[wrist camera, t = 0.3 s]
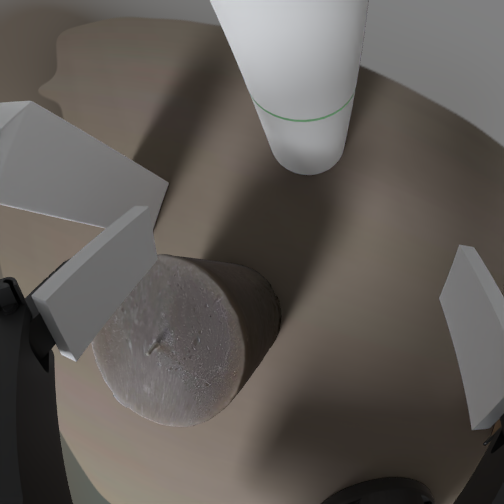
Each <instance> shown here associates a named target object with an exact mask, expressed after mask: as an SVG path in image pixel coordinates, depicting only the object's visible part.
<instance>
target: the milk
mask: <svg viewBox="0 0 504 504" xmlns="http://www.w3.org/2000/svg"><path fill="white" fill-rule="evenodd" d="M168 185H169V183H168V182H167V181H165V180H164V179H162V178H160V177H159V176H157V175H155V174H154V173H152V172H151V171H149V170H147V169H146V168H144V167H142V166H141V165H139V164H137V163H136V162H134V161H132V160H131V159H129V158H127V157H126V156H124V155H122V154H121V153H119V152H117V151H116V150H114V149H112V148H111V147H109V146H107V145H106V144H104V143H102V142H101V141H99V140H97V139H96V138H94V137H92V136H91V135H89V134H87V133H86V132H84V131H82V130H81V129H79V128H77V127H76V126H74V125H72V124H70V123H69V122H67V121H65V120H64V119H62V118H60V117H58V116H57V115H55V114H53V113H52V112H50V111H48V110H47V109H45V108H43V107H41V106H40V105H38V104H36V103H34V102H33V101H18V102H4V103H0V204H1V205H5V206H9V207H14V208H18V209H22V210H27V211H31V212H35V213H40V214H44V215H49V216H53V217H57V218H62V219H66V220H71V221H75V222H80V223H84V224H88V225H93V226H97V227H102V228H107V227H109V226H110V225H111V224H112V223H114V222H115V221H116V220H117V219H119V218H120V217H121V216H122V215H124V214H125V213H126V212H127V211H129V210H130V209H131V208H133V207H134V206H145V207H149V210H150V216H151V223H152V229H153V228H154V225H155V222H156V219H157V216H158V213H159V210H160V207H161V204H162V202H163V199H164V196H165V193H166V190H167V187H168Z"/></svg>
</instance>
